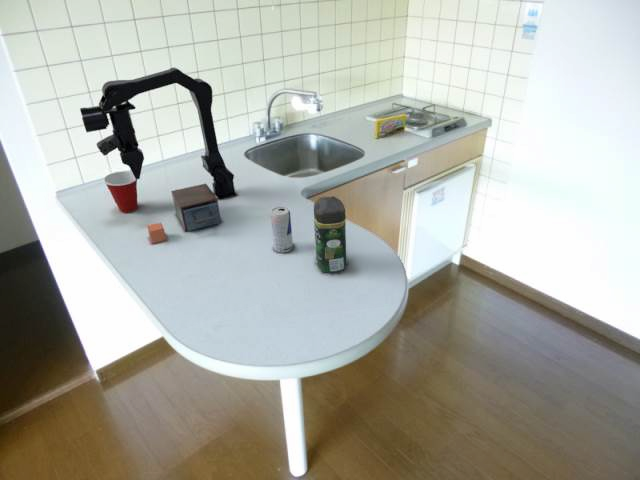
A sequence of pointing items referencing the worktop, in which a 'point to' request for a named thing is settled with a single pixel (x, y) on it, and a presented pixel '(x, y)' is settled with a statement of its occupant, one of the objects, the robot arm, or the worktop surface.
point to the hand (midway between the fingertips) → (135, 174)
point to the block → (156, 233)
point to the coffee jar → (330, 234)
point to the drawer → (201, 215)
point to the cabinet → (192, 199)
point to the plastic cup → (123, 190)
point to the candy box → (390, 126)
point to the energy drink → (281, 229)
